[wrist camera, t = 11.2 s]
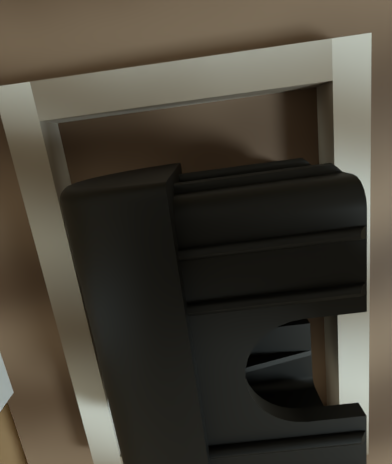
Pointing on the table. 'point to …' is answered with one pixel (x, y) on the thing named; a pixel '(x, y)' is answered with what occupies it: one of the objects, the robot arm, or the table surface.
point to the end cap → (221, 307)
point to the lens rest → (192, 160)
